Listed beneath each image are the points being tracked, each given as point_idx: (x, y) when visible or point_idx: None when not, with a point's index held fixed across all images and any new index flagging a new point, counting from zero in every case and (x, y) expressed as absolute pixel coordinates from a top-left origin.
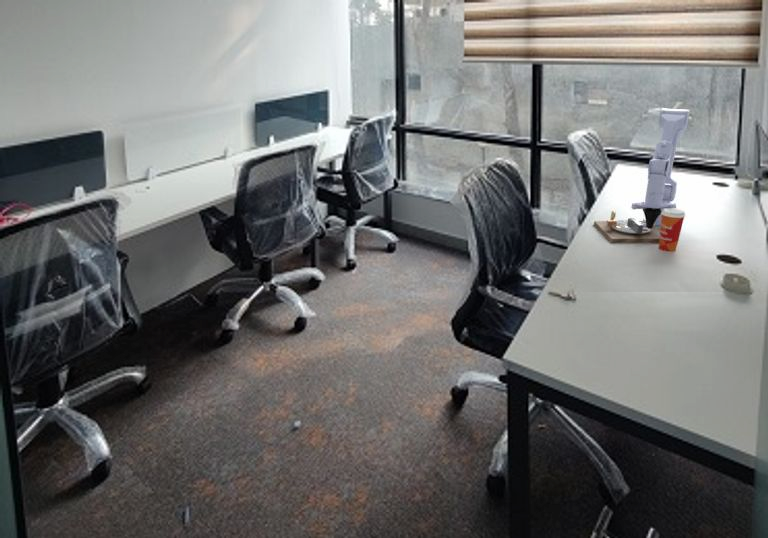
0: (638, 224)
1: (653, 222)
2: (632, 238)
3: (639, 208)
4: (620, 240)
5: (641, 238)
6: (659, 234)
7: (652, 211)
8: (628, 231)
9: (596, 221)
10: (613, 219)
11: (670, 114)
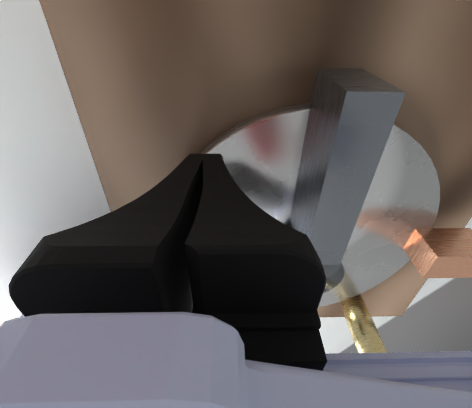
0: (385, 122)
1: (179, 174)
2: (417, 9)
3: (423, 361)
4: None
5: (330, 6)
6: (126, 125)
7: (213, 281)
8: (400, 129)
9: (394, 313)
10: (360, 309)
11: None
